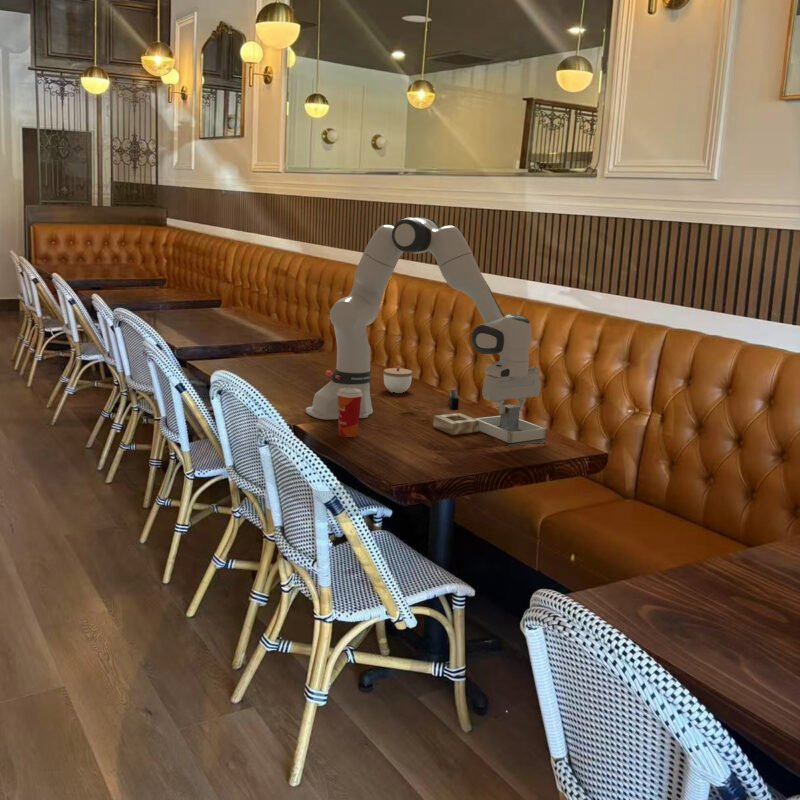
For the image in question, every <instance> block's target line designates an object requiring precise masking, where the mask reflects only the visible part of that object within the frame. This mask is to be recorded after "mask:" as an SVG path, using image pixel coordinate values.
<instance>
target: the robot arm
mask: <svg viewBox="0 0 800 800" xmlns="http://www.w3.org/2000/svg"><path fill="white" fill-rule="evenodd" d="M404 253H407V254H417V255H418V254H424V253H425V254H426V253H431V255H433V257H434V259H435V261H436V263H437V266H438V268H439V271H440V273H441V275H442V277H443V279H444V280H445V282H446V283H447V285H448V286H449V287H450V288H451V289H454V290H455V291H459V292H461V293H463V294H465V295H466V296H468V297H469V298H470V299H471V300H472V301H473V303H474V304H475V306H476V308H477V310H478V312H479V314H480V316H481V317H482V320H483V322H484V323H481V324H479V325H478V326H476V327H474V329H473V330H472V332H471V335H470V342H471V346H472V347H473V349H474V351H475V352H477V353H478V354H481V355H485V356H486V355H487V356H488V355H495V354H497V355H499V360H498V361H496V362H494V363H493V364H490V365H488V366H487V367H485V370H484V371H485V374H487V375H485V376H484V379H483V384H482V393H481V394H482V397H483V399H484V400H486V401H489V402H493V401H494V402H495V403H496V405H497V407H498V413H499V414H500V415H501V414H504V413H506V408H504V406H503V405H504V403H505V400H506V401H507V400H512V399H513V400H514V399H516V400H518V402H517V404H514V405H515V406H518V407H520V411H519V413H520V412H522V411H523V407H524V404H525V403H526V399H527V398H533V397H538V396H539V395H540V392H541V380H540V373H541V372H540V369H539V368H538V367H537V366H530V367H529V364H530V355H529V351H530V347H531V342H532V325H531V321H530V320H529V319H528V318H527V317H526V316H523V315H520V314H515V313H509V314H506V315H505V314H504V313H503V311H502V309H501V307H500V305H499V303H498V301H497V300H496V298H495V296H494V294H493V292H492V290H491V288H490V286H489V284H488V282H487V281H486V279H485V277H484V276H483V274H482V271H481V269H480V268H479V266H478V264H477V261H476V259H475V257H474V253H473V251H472V249H471V247H470V245H469V244H468V242H467V240H466V238H465V237H464V235H463V234H462V233H461V231H460V230H459V228H458V227H456V226H454V225H444V226H442V227H440V225H439V224H438V223H437V222H436V221H434V220H433V219H430V218H425V217H421V216H418V217H417V216H416V217H405V218H402V219H400V220H399V221H397V222H396V224H394V225H391V224H382V225H380V226H378V228H377V229H376V230H375V232H374V233H373V235H372V236H371V238H370V240H369V241H368V243H367V245H366V247H365V249H364V251H363V253H362V256H361V258H360V260H359V262H358V265H357V267H356V269H355V272H354V274H353V276H354V280H353V283H352V287H351V290H350V293H349V295H348V296H345V297H342V298H339V299H338V300H337V301H336V302H335V303H334V304H333V305H332V307H331V308H330V311H329V319H330V322H331V325H333V328H334V329H333V330H334V334H335V335H334V336H335V339H336V368H335V370H334V371H331V370H330V369H329V370H328V369H327V370H326V372H325V375H326V377H328V378H331V380H330V381H329V382H328V383H327V384H326V385H324V386H323V387H322V388H321V389H319V390H318V391H316V392H315V394H314V397H313V401H312V406H309V407H305V413H306V414H307V415H309V416H311V417H313V418H315V419H320V420H327V421H328V420H338V395H337V393H338V390H339V389H341V388H352V389H353V388H356V389H360V390H361V393H362V396H361V405H360V416H359V419H366V418H368V417H369V416H370V415H372V414H373V413H374V410H373V405H372V401H371V390H370V386H371V380H372V371H371V354H372V353H371V346H370V343H369V340H368V339H369V338H368V334H367V328H368V327H367V326H370V325H371V324H372V323H374V322H375V320H376V319H377V317H378V316H379V313H380V308H381V305H382V302H383V297H384V293H385V291H386V288H387V285H388V283H389V280H390V279H391V277H392V275H393V272H394V271H395V268H396V266H397V264H398V262H399V259H400V257H401V256H402V255H403V254H404Z"/></svg>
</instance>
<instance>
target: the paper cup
mask: <svg viewBox="0 0 800 800" xmlns="http://www.w3.org/2000/svg"><path fill="white" fill-rule="evenodd" d="M337 395H338V419H337V420H338V435H340V436H339V437H341V436H342V438H345V437H353V438H356V437H358V433H359V424H360V418H359V416H360V405H361V396H362V393H361V390H360V389H356V388H353V389H352V388H341V389H339V390H338V393H337Z"/></svg>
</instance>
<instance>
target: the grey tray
mask: <svg viewBox="0 0 800 800" xmlns="http://www.w3.org/2000/svg"><path fill="white" fill-rule="evenodd" d="M500 417H501V415H494V416H493V415H492V416H486V417H485V416H484V417H477V418H474V419H476V420H479V427H478V432H481V433H484V434H487V435H489V436H491V437H494V438H496V439H499V440H501V441H503V442H505V443H508V444H504V445H505V446H504V447H506V446H508V447H511V448H513V447H512V446H518V447H520V446H519V445H525V446H528V445H527V444H532V445H537V444H536V443H539V444H545V443H546V432H547V428H545V427H543V426H541V425H537V424H535V423H531V422H529V421H526V420H524V419H522V418H519V423H518V431H515V432H509V431H507V430H504V429H502V428H500ZM544 442H545V443H544ZM508 447H507V448H508Z"/></svg>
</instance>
